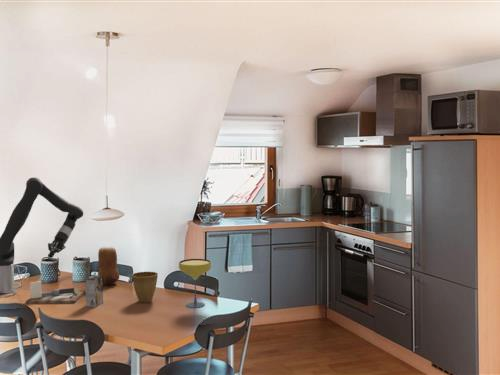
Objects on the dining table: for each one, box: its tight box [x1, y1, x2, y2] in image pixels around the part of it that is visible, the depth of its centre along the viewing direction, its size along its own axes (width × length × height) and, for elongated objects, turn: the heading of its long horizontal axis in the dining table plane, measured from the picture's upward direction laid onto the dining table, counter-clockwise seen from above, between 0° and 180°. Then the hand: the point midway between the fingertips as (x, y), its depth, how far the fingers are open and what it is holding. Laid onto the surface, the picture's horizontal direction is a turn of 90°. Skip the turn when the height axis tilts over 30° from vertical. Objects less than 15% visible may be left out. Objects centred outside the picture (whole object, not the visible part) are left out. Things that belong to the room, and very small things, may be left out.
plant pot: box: [131, 271, 159, 303], centre depth 319 cm, size 15×15×16 cm
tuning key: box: [29, 280, 75, 298], centre depth 324 cm, size 24×4×9 cm, turn 116°
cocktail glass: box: [178, 258, 212, 309], centre depth 310 cm, size 18×18×25 cm
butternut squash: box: [97, 246, 120, 286], centre depth 357 cm, size 14×13×25 cm
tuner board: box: [25, 290, 85, 305], centre depth 325 cm, size 28×20×3 cm
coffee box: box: [84, 274, 104, 308], centre depth 312 cm, size 9×6×16 cm
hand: (49, 257), depth 332 cm, fingers closed
